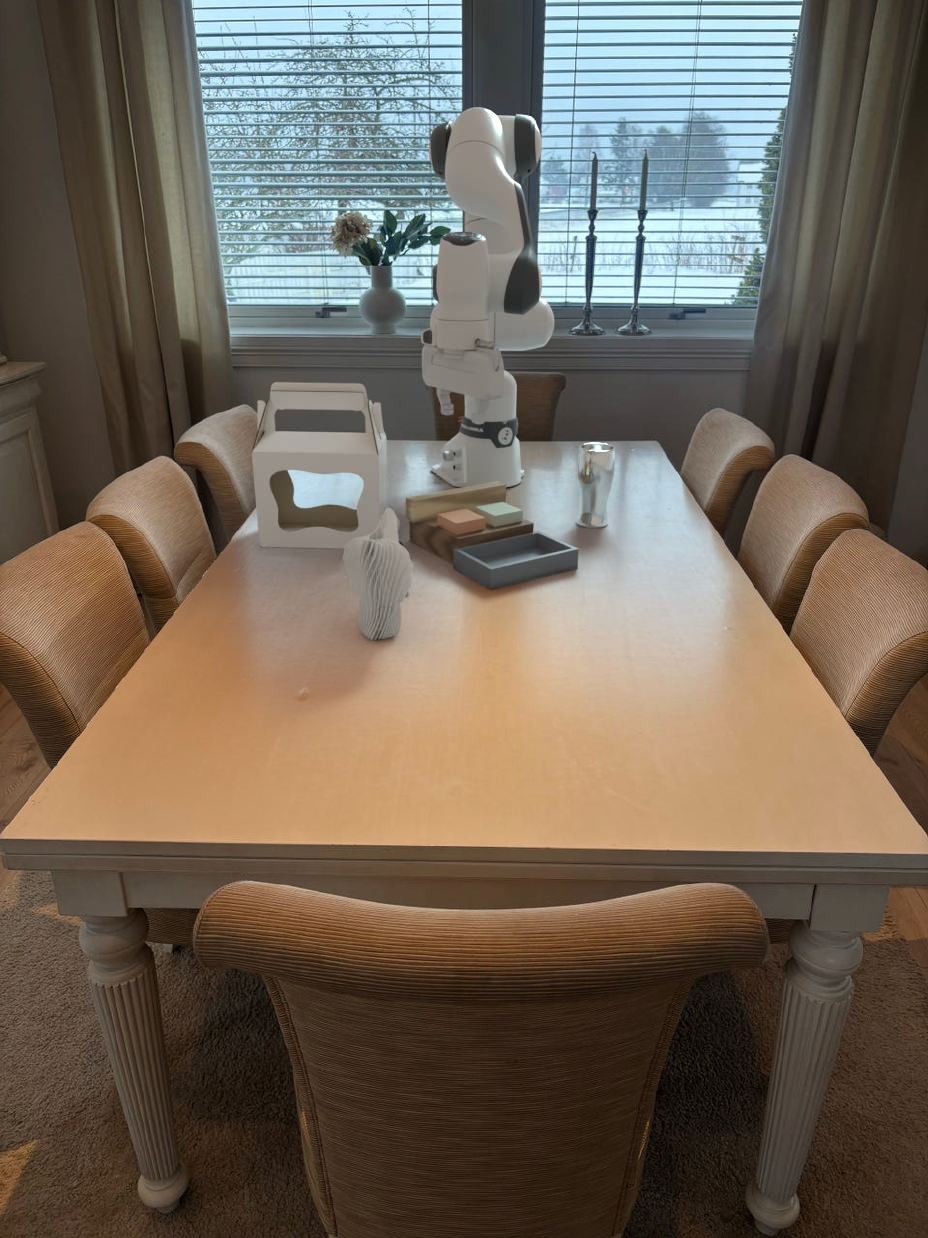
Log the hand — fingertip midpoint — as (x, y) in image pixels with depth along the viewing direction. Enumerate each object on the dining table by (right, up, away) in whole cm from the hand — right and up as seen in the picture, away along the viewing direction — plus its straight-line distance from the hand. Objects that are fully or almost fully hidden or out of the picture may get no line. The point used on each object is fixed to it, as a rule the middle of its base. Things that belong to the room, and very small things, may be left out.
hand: (462, 418), depth 162 cm
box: (+9, -26, -5) cm, 28 cm away
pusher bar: (-1, -15, +7) cm, 17 cm away
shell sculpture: (-11, -37, -29) cm, 49 cm away
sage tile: (+7, -17, +3) cm, 19 cm away
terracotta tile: (0, -19, -1) cm, 19 cm away
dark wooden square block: (+1, -22, +6) cm, 22 cm away
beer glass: (+25, -17, +18) cm, 35 cm away
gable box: (-25, -20, +9) cm, 33 cm away
